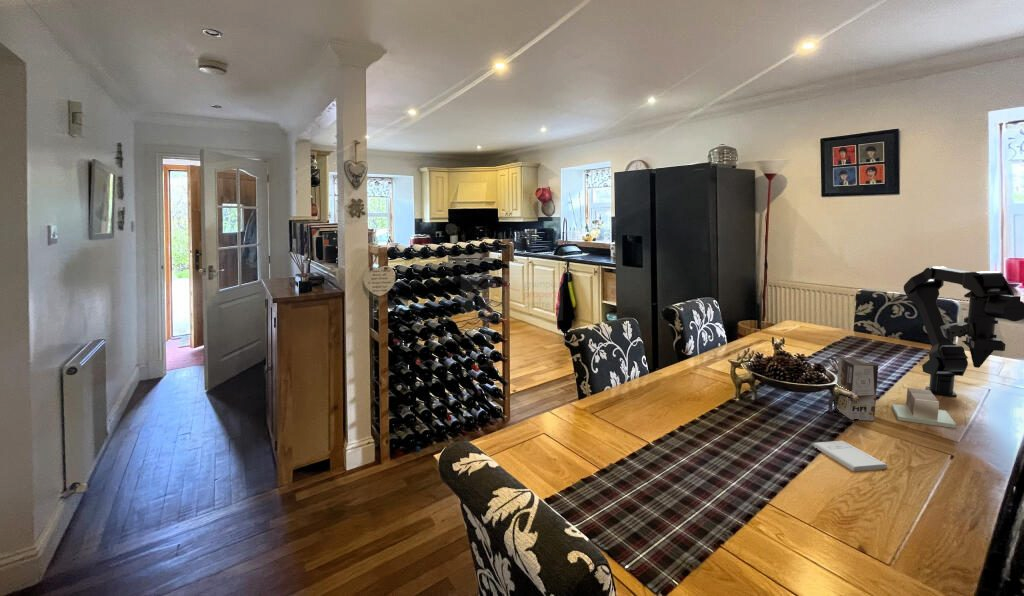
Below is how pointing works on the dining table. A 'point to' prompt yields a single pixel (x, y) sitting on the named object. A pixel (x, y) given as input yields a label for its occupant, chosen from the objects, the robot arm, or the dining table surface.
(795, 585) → the dining table surface
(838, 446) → the external hard drive
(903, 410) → the mat
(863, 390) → the coffee box
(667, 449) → the dining table surface
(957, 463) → the dining table surface
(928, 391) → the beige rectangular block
